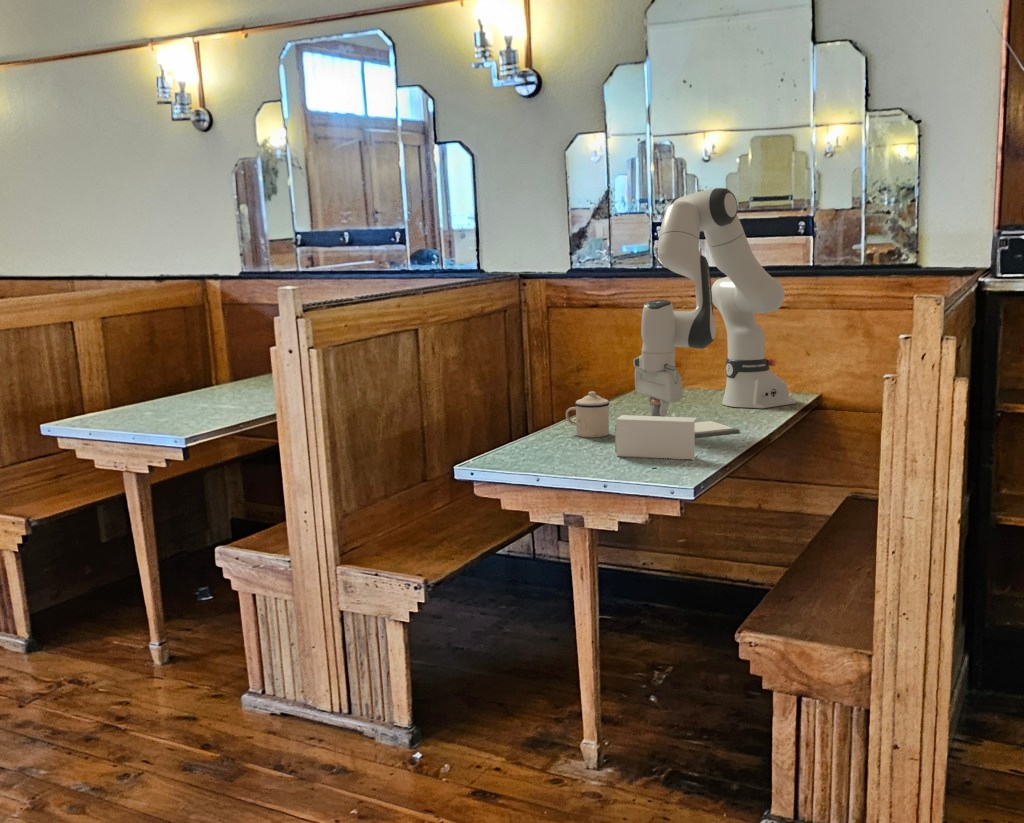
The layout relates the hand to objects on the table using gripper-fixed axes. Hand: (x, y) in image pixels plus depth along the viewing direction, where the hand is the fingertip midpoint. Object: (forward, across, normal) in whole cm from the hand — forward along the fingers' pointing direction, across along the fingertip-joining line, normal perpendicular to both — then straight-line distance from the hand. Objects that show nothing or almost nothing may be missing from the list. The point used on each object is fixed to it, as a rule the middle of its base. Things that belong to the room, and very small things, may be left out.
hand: (658, 414), depth 279 cm
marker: (+4, 0, 0) cm, 4 cm away
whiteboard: (+5, -1, -7) cm, 9 cm away
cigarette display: (+6, -24, +14) cm, 28 cm away
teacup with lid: (+6, +9, +17) cm, 20 cm away
